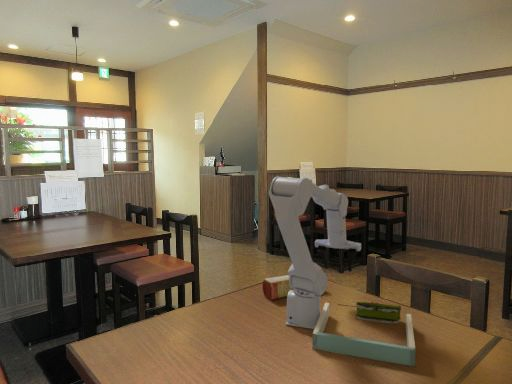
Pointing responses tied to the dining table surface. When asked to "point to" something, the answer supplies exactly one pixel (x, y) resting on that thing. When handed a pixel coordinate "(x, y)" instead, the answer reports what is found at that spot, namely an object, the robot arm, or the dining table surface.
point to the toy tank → (378, 312)
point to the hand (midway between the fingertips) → (338, 268)
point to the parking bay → (364, 344)
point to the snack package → (276, 287)
